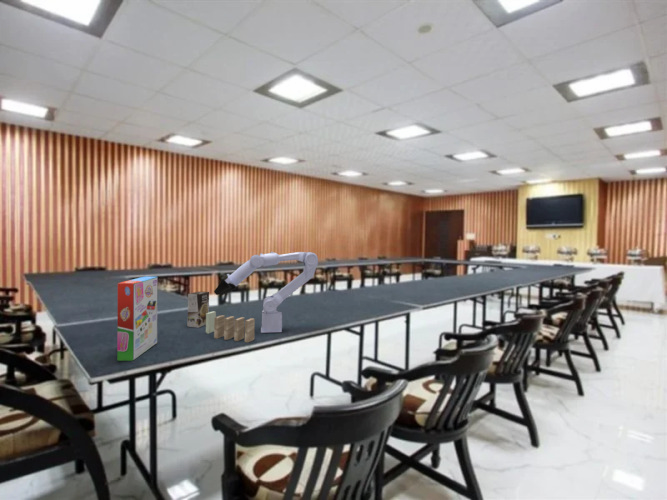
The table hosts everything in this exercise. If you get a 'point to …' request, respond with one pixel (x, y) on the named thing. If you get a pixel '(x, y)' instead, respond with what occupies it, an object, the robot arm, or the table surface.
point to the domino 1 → (210, 321)
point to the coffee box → (197, 308)
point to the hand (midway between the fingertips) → (217, 293)
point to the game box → (136, 317)
